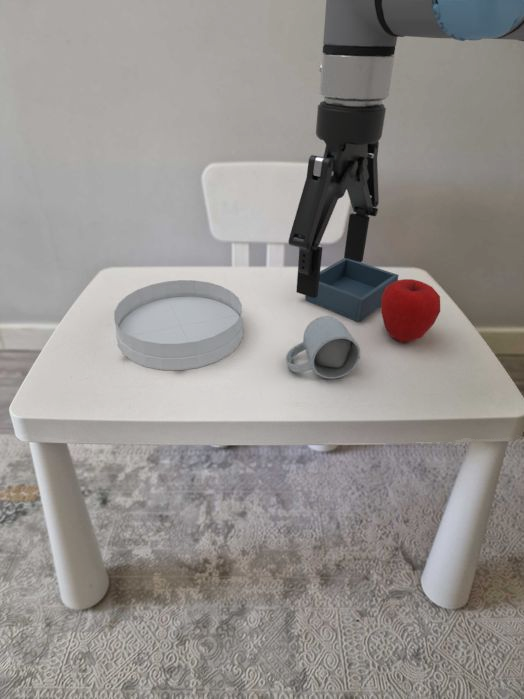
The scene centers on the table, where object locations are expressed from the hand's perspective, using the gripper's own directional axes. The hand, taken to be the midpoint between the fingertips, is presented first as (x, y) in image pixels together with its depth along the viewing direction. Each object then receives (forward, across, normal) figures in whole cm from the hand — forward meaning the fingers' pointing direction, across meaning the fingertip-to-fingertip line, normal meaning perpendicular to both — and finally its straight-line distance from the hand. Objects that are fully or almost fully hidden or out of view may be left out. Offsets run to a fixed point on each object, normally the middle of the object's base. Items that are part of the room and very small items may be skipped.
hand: (331, 275), depth 63 cm
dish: (+17, +4, -26) cm, 31 cm away
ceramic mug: (+17, -2, -1) cm, 17 cm away
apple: (+17, -18, +7) cm, 26 cm away
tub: (+17, -26, -7) cm, 31 cm away
